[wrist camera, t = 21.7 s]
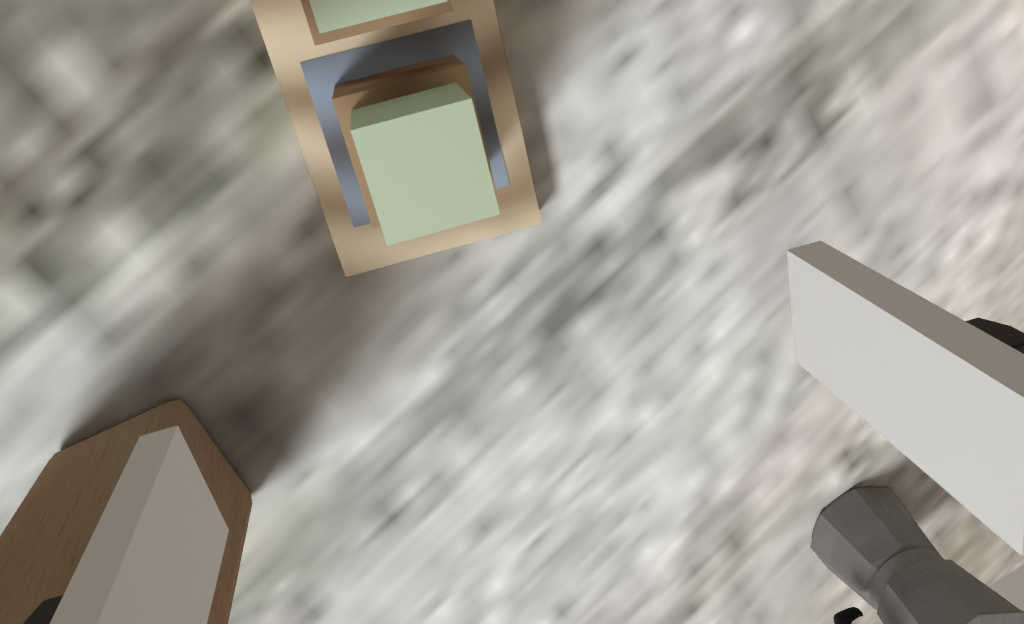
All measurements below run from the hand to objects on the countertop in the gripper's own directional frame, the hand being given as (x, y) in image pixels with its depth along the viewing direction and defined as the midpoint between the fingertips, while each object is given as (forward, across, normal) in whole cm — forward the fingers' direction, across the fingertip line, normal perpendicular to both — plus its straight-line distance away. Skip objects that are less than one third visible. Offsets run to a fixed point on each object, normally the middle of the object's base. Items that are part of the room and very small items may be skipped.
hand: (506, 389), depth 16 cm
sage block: (+27, 0, 0) cm, 27 cm away
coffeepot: (+35, +28, -44) cm, 63 cm away
